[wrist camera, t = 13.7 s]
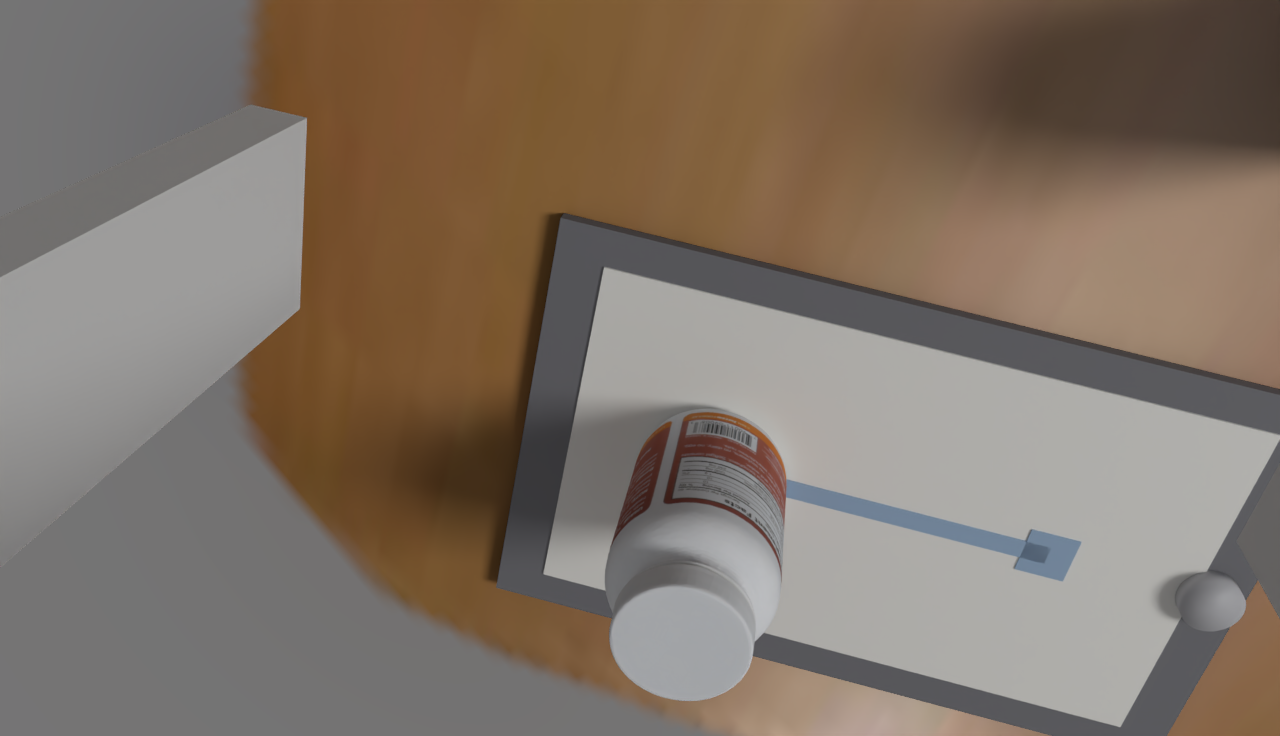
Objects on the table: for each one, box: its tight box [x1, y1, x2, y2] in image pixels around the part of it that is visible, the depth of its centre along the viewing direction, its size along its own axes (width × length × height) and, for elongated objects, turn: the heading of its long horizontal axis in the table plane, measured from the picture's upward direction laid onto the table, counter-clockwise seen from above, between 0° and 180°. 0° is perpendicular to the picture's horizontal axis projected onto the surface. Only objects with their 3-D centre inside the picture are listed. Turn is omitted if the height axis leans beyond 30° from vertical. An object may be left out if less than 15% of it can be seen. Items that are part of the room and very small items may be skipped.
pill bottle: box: [605, 409, 787, 701], centre depth 39 cm, size 6×6×11 cm
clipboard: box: [496, 213, 1280, 736], centre depth 44 cm, size 18×30×1 cm, turn 78°
